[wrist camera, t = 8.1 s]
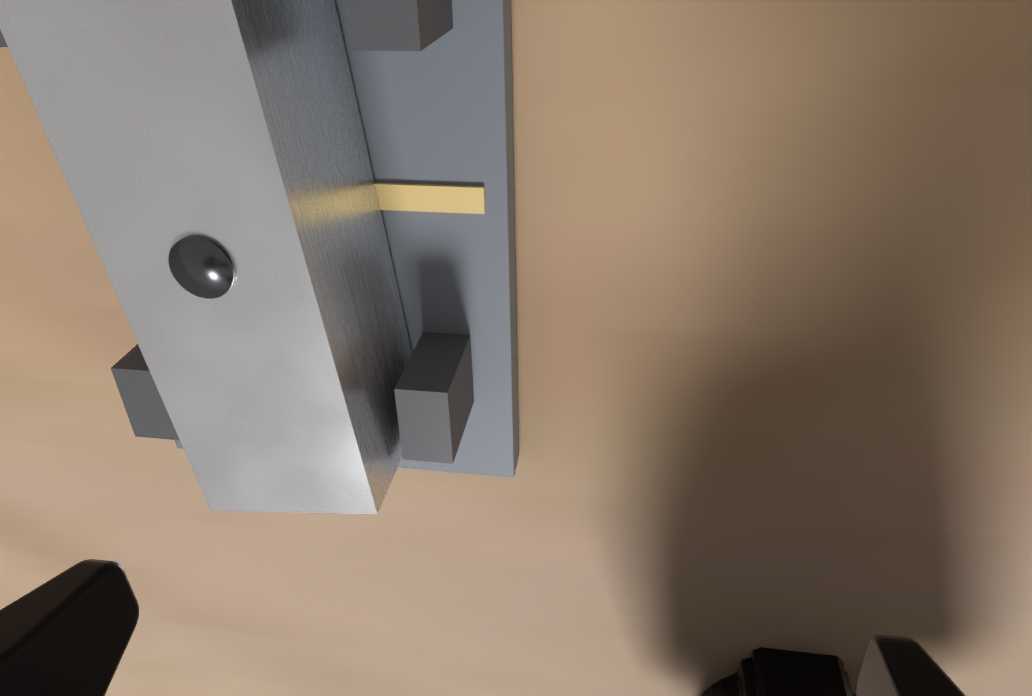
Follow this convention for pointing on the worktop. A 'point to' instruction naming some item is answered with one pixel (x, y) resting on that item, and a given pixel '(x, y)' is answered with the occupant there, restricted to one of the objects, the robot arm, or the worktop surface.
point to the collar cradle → (430, 226)
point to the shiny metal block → (233, 232)
